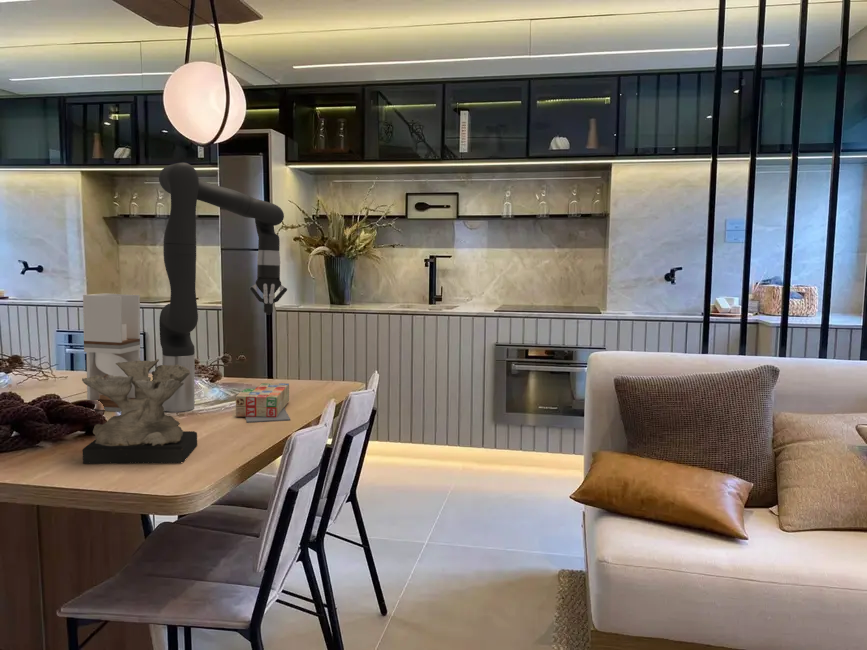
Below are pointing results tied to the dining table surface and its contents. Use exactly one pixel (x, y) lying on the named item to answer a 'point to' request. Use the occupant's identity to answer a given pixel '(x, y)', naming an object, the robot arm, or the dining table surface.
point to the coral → (140, 418)
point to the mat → (269, 418)
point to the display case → (110, 338)
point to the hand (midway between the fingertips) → (268, 314)
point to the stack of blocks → (262, 400)
